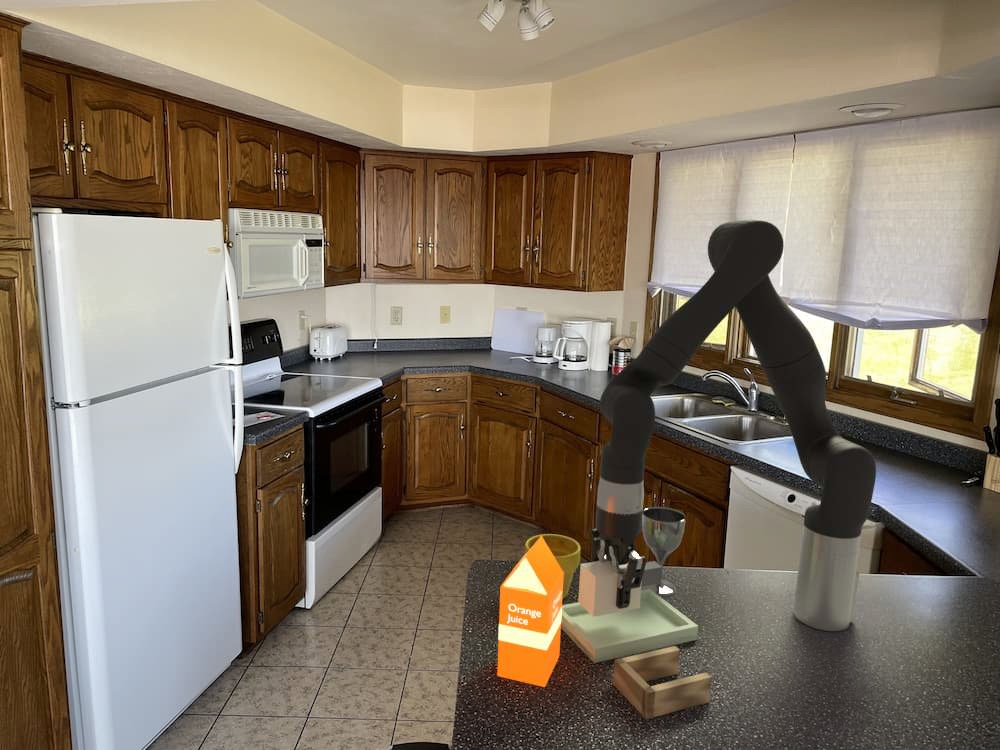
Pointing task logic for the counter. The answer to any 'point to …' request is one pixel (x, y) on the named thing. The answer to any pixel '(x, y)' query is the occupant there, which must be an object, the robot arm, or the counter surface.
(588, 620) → the tray
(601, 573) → the cream and grey blocks
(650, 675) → the dock
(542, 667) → the orange juice
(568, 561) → the plant pot
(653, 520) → the wine glass
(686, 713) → the counter surface
